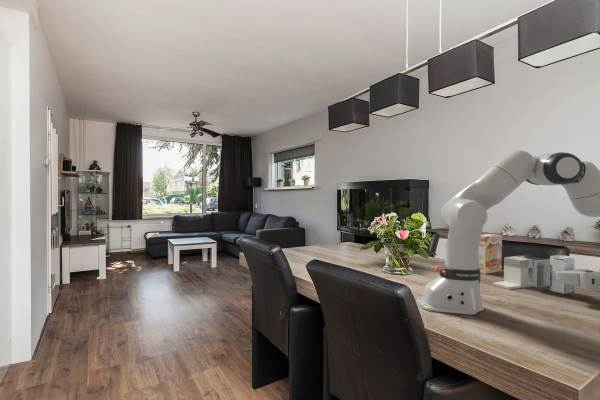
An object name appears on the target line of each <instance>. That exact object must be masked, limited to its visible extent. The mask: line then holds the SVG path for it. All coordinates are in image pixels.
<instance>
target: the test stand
mask: <svg viewBox="0 0 600 400" xmlns="http://www.w3.org/2000/svg"><path fill="white" fill-rule="evenodd" d="M525 256H526V255H514V256H505V257H503V281H495V282H492V286H494V287H495V286H496V287H499V288H502V289H506V290H516V289H521V288H522V289H523V288H531V287H534V273H529V269H533V270H534V260H535V259H529V258H525ZM533 258H535V256H534V257H533Z"/></svg>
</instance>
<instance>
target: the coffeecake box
mask: <svg viewBox="0 0 600 400" xmlns="http://www.w3.org/2000/svg"><path fill="white" fill-rule="evenodd" d="M502 252H503V235H502V234H494V233H487V234H486V233H485V234H482V235H481V239H480V244H479V269H480V274H484V275H487V274H492V273H497V272H502V270H503V267H502V263H503V262H502V258H503V257H502V255H503V253H502Z"/></svg>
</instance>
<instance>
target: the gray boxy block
mask: <svg viewBox="0 0 600 400" xmlns="http://www.w3.org/2000/svg"><path fill="white" fill-rule="evenodd" d="M524 256H525V258H529V259H535V260H534V270H533V269H529V273H534V286H533V287H534V288H545V287H550V258H547V259H543V258H540V257H535V256H534V255H524ZM533 257H534V258H533Z"/></svg>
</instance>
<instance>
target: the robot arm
mask: <svg viewBox="0 0 600 400" xmlns="http://www.w3.org/2000/svg"><path fill="white" fill-rule="evenodd" d="M525 181H526V182H527V183H528V184H532V185H535V186H541V185H542V186H547V187H548V186H559V185H561V186H562V188H564V189H565V191H566V194H567V196H568V198H569V200H570V202H571V205H572V207H574V208H573V209H575V210H576V212H577V213H579V214H581V215H582V216H586V217H589V218H598V217H599V218H600V169H599V168H598V167H597V166H596V164H595V163H593V162H591V161H584V160H583V161H582V160H581V159H580V158H579V157H578V156H576V155H574V154H572V153H568V152H564V151H563V152H555V153H545V154H541V155H537V156H536V155H535V156H533V155H532V154H531V153H529V152H527V151H525V150H521V149H517V150H513V151H511V152H510V153H508V154H507V155H504V156H503V157H502V158H500V159H499V160H498V161H496V162H495V163H494V164H493V165H492V166H490V167H489V168H488V169H487V170H486V171H484V173H482V174H481V175H480V176H479V177H478V178H477V179H475V181H473V182H472V183H471V184H469V185H468V186H466V187H465V188H464V189H462V190H461V191H459V192H457V194H456V195H454V196H452V198H450V199H449V200H448V201H446V202H445V203H444V204H443V206H441V209H440V215H441V218H442V220H443V222H444V223H445V224H446V225H447V226H448V227H449V228H448V234H447V239H446V242H445V244H444V247H445V248H444V259H445V260H444V265H443V266H440V265H436V266H435V271H436V272H439V276H437V277H436V278H434V279H433V280H431V281H429V282H428V283H427V284H425V285H424V287H423V291H422V295H421V296H418V297H417V298H416V303H417V305H418V306H419V307H420V308H422V309H424V310H425V311H427V312H429V311H430V312H439V313H449V314H450V313H451V314H458V315H459V314H460V315H469V316H470V315H471V316H473V315H476V314H477V313H478V312H479V313H480V312H482V311H484V310H485V307H484V304H483V301H482V296H481V294H482V293H481V289H480V284H481V278H482V277H481V273H480V269H479V244H480V239H481V235H483V230H484V226H485V224H486V223H487V220H488V210H489V209H491V208H493V207H495V206H497V205H498V204H500V203H501V202H503V200H505V199H506V198H507V197H508V196H509V195H511V194H512V193H513V192H514V191H515V190H516V189H517V188H518V187H520V186H521V185H522V184H523V183H524V182H525ZM552 274H553V275H556V280H557V281H559V282H562V283H565V284H569V285H573V286H574V287H579V288H580V290H585V291H594V292H598V293H599V292H600V267H599V266H592V267H586V268H574V270H566V271H558V270H553V271H552Z"/></svg>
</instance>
